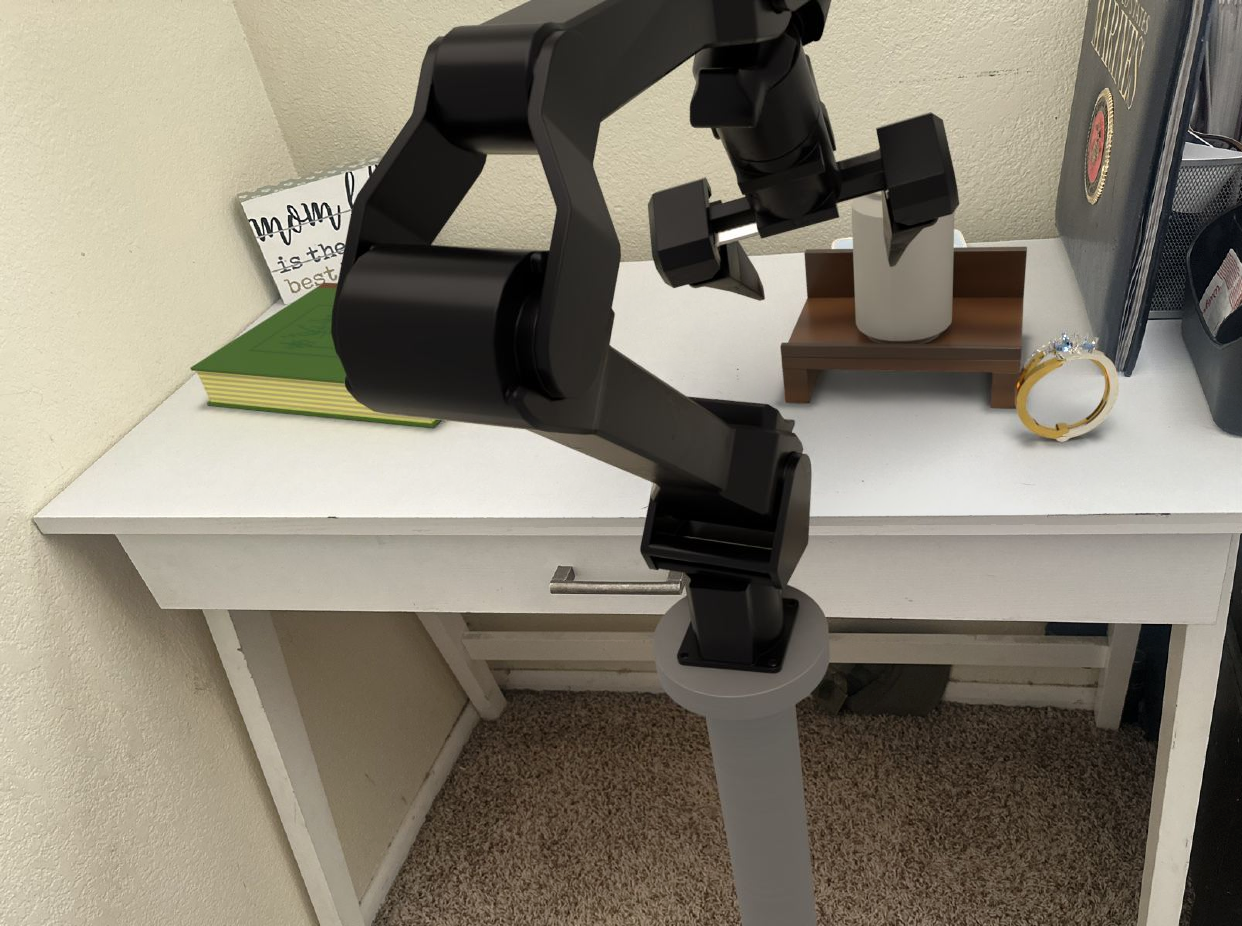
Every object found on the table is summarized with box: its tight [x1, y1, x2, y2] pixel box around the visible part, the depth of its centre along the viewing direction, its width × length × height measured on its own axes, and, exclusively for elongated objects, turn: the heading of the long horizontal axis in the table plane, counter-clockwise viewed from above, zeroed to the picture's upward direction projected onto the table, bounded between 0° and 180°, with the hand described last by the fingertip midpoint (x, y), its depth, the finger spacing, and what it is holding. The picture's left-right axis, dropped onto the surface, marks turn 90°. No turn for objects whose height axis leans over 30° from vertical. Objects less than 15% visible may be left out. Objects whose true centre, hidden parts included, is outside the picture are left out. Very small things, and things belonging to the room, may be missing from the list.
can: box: [850, 191, 956, 344], centre depth 77 cm, size 8×8×12 cm
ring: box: [1014, 329, 1120, 443], centre depth 71 cm, size 7×3×8 cm, turn 86°
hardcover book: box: [189, 282, 443, 429], centre depth 94 cm, size 25×19×4 cm
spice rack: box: [779, 246, 1028, 409], centre depth 81 cm, size 12×18×8 cm, turn 76°
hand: (825, 278), depth 70 cm, fingers open, 9 cm apart
